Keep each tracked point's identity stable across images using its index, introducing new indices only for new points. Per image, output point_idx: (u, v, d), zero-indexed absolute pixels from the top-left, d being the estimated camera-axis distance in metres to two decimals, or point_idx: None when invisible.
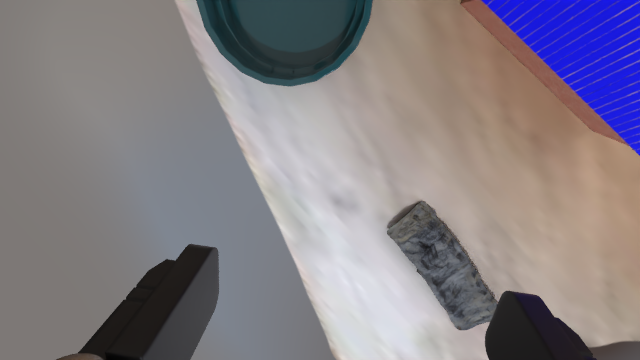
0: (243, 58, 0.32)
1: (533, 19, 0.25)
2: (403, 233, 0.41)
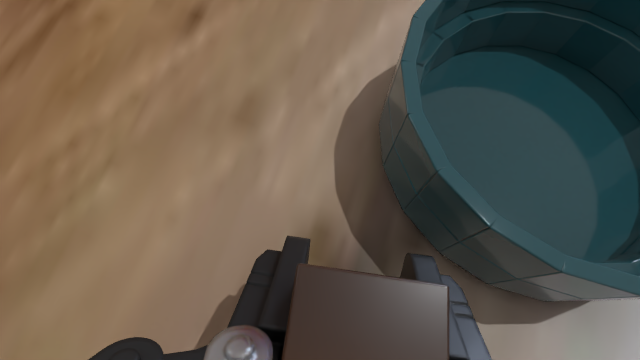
0: None
1: None
2: None
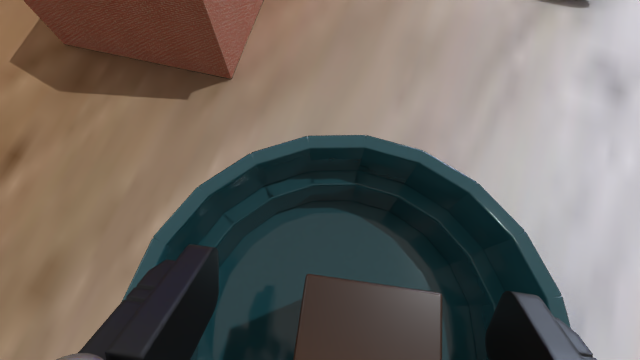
0: None
1: None
2: None
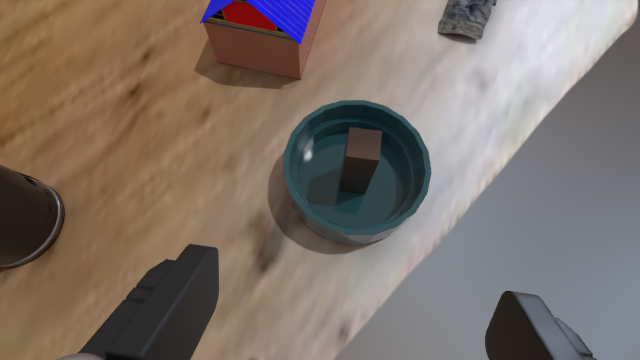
0: (418, 185, 0.36)
1: (299, 9, 0.39)
2: (472, 27, 0.47)
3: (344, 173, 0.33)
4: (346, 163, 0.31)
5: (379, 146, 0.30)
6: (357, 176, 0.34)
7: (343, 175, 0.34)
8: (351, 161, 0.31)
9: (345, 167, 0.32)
